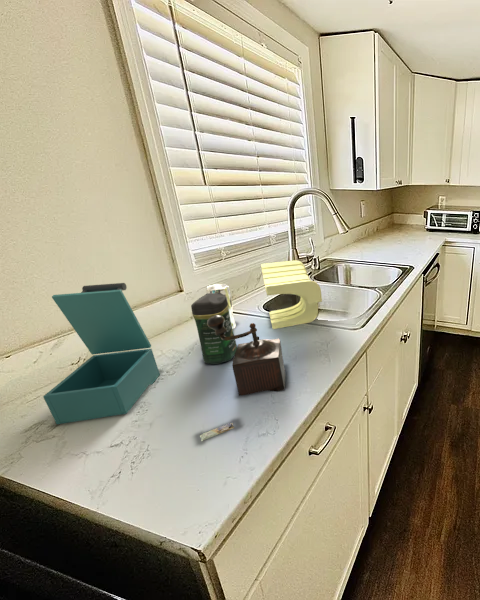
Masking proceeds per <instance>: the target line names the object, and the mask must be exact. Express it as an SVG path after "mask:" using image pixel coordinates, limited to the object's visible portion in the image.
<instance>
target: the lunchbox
mask: <svg viewBox="0 0 480 600" xmlns="http://www.w3.org/2000/svg"><path fill="white" fill-rule="evenodd" d="M159 377H160V371H159V367H158V364H157V361H156V358H155V355H154V351H153V349H152V348H145V349H136V350H127V351H119V352H110V353H101V354H93V355H92V356H90V357H89V358H88V359H87V360H85V362H83V363H82V364H81V365H79V366H78V367H77V368H76V369H75V370H73V371H72V372H70V373H69V375H67V376H66V377H64V378H63V380H61V381H60V382H59V383H57V385H55V386H54V387H53V388H51V389H50V390H49V391H48V392H47V393H45V394H44V395H43V396H42V397H43V400H44V401H45V404H46V405H47V408H48V410H49V412H50V414H51V416H52V418H53V420H54V422H55V424H56V425H62V424H69V423H75V422H81V421H87V420H94V419H95V420H96V419H101V418H107V417H108V418H109V417H113V416H115V417H116V416H121V415H127V414H128V413H129V412H130V410H131V409H132V407H133V406H134V405H135V404H136V402H137V401H138V400H139V399H140V397H141V396H142V395H143V393H145V391H146V390H147V389H148V387H149V386H150V385H151V386H152V385H153V384H154V383H155V382H156V381H157V379H158V378H159Z"/></svg>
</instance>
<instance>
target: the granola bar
mask: <svg viewBox="0 0 480 600" xmlns="http://www.w3.org/2000/svg"><path fill="white" fill-rule="evenodd" d="M232 429H235V426H234V423H233V422H229V423H227V424H224V425H221V426H218V427H216V428H213V429H211V430H209V431H206V432H204V433H202V434H200V435H199V438H200V441H201V442H203V441H205V440H208V439H211V438H213V437H215V436H217V435H220V434H223V433H226V432H228V431H230V430H232Z"/></svg>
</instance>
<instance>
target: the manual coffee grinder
mask: <svg viewBox="0 0 480 600" xmlns="http://www.w3.org/2000/svg"><path fill="white" fill-rule="evenodd" d="M224 322H225V319H224V317H223V316H221V315H214V316H212V317H210V318H209V319H208V320H207V325H208V327H210V328H212V329H214V330H215V335H220V337H221V339H222V340H225V341H228V340H234V339H235V340H237V339H242V338H244V337H248V336H249V335H251V336H252V340H251V341H249V342H243V343H238V344H237V350H236V352H235V355H234V356H233V358H232V363H231V368H232V371H233V375H234V379H235V384H236V387H237V392H238V397H241V396H249V395H253V394H258V393H263V392H277V393H278V392H283V391H285V388H286V368H285V363H284V356H283V350H282V349H283V348H282V343H281V338H280V337H279V338H272V339H271V338H270V339H267V338H265V339H264V338H263V339H260V337H259V336H258V334H257V331H258V329H257V328H256V323H254V322H252V323H249V328H250V329H249V330H248V331H246V332H243V333H239V334H234V336H231V337H226V336H225V335H224V334H225V333H226V331H227V329H226V328H225V327H224Z"/></svg>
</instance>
